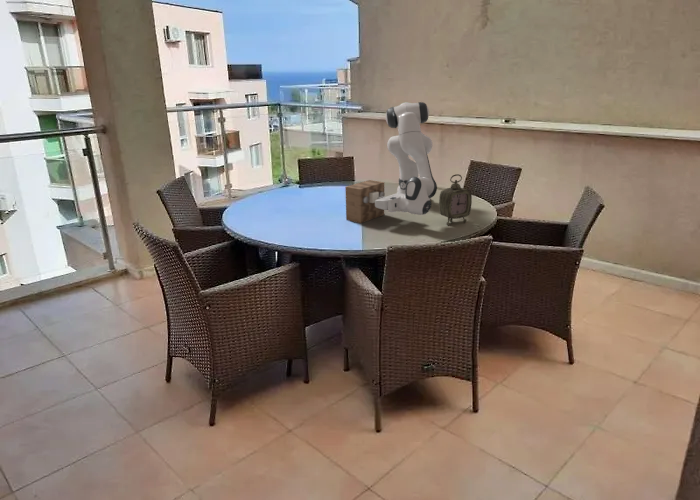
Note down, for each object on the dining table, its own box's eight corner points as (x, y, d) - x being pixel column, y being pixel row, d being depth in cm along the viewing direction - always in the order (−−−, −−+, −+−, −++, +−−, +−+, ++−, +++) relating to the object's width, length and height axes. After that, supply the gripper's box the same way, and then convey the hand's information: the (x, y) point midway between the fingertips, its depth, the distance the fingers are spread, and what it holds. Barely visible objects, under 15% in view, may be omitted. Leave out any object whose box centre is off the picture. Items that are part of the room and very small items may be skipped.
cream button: (372, 199, 258) (371, 190, 256) (378, 201, 255) (378, 191, 253) (366, 201, 254) (365, 192, 252) (372, 203, 251) (372, 193, 250)
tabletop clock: (446, 226, 242) (449, 177, 233) (436, 222, 249) (438, 174, 241) (470, 222, 247) (473, 174, 239) (459, 218, 255) (462, 171, 246)
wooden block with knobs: (370, 211, 271) (369, 179, 265) (386, 215, 264) (386, 182, 257) (346, 219, 257) (345, 186, 251) (362, 223, 250) (362, 189, 243)
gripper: (412, 192, 248) (391, 188, 257) (388, 200, 234) (366, 196, 243) (412, 204, 251) (391, 200, 259) (388, 212, 236) (366, 208, 245)
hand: (379, 198), depth 251 cm, fingers closed
